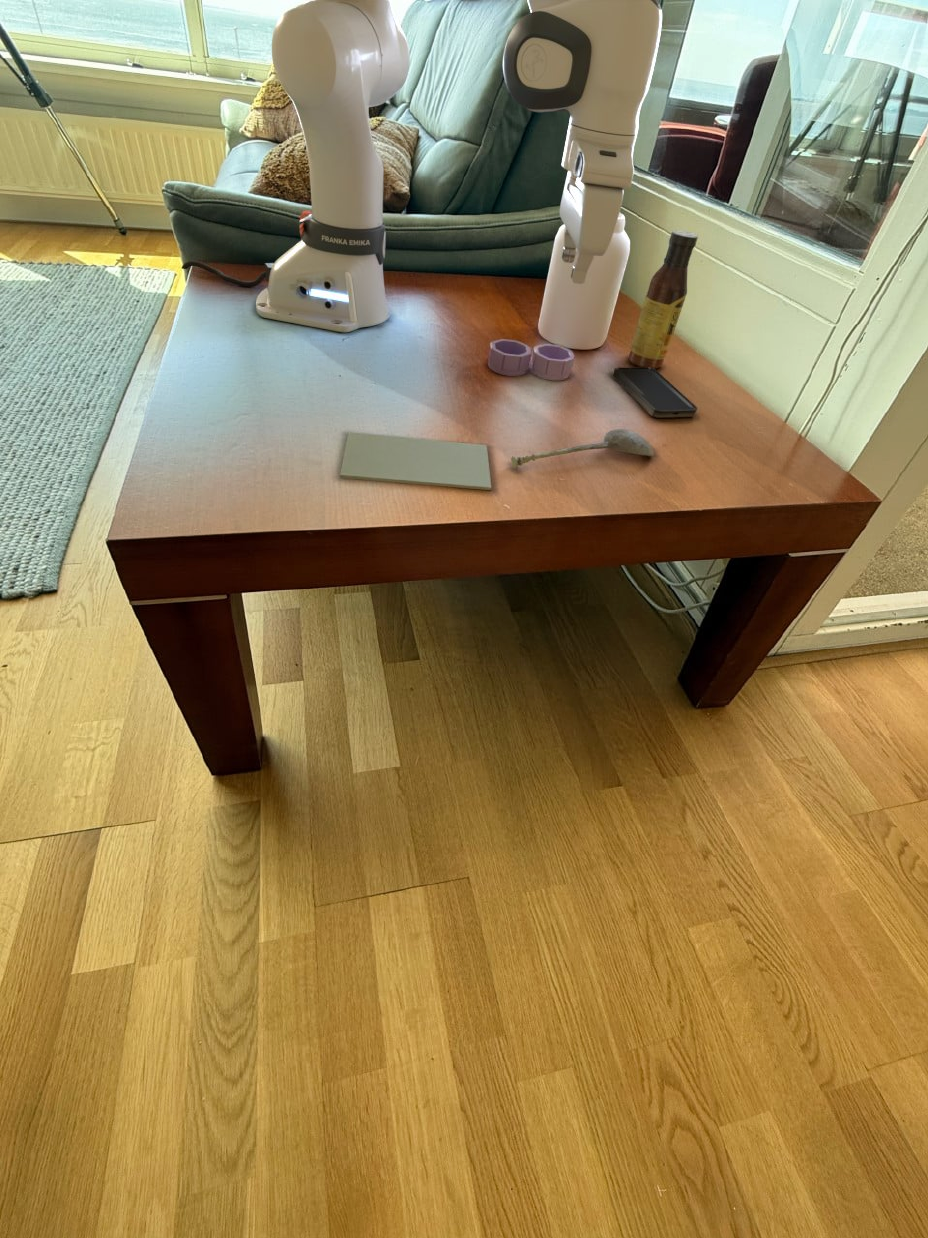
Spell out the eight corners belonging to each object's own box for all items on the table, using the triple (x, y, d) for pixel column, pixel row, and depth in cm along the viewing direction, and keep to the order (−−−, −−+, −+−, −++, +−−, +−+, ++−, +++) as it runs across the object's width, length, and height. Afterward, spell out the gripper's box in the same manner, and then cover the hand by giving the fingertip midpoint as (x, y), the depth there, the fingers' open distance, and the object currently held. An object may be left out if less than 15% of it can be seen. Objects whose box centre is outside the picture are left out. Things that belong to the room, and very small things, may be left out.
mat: (340, 477, 74) (339, 474, 74) (348, 434, 81) (348, 432, 81) (491, 490, 76) (491, 487, 76) (486, 447, 83) (486, 444, 83)
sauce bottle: (662, 373, 108) (707, 243, 94) (626, 366, 108) (666, 235, 94) (661, 358, 112) (704, 232, 98) (627, 351, 113) (665, 225, 99)
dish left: (489, 373, 99) (492, 353, 97) (486, 356, 104) (489, 337, 102) (529, 377, 100) (532, 357, 98) (524, 361, 104) (528, 341, 102)
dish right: (532, 378, 100) (536, 358, 98) (528, 361, 105) (532, 341, 102) (571, 382, 101) (576, 362, 98) (566, 365, 105) (570, 346, 103)
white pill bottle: (589, 357, 109) (624, 225, 95) (525, 336, 112) (549, 205, 98) (614, 337, 117) (649, 213, 103) (553, 318, 120) (579, 195, 106)
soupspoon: (661, 465, 87) (633, 443, 91) (669, 442, 84) (640, 420, 89) (523, 481, 78) (499, 455, 82) (528, 456, 76) (503, 431, 80)
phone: (652, 367, 106) (700, 409, 96) (650, 373, 107) (697, 416, 97) (611, 367, 104) (655, 411, 94) (609, 374, 105) (653, 418, 95)
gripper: (562, 138, 89) (542, 247, 99) (586, 168, 75) (560, 292, 85) (605, 145, 90) (581, 252, 100) (637, 175, 76) (605, 297, 85)
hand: (571, 271), depth 92 cm, fingers open, 8 cm apart
